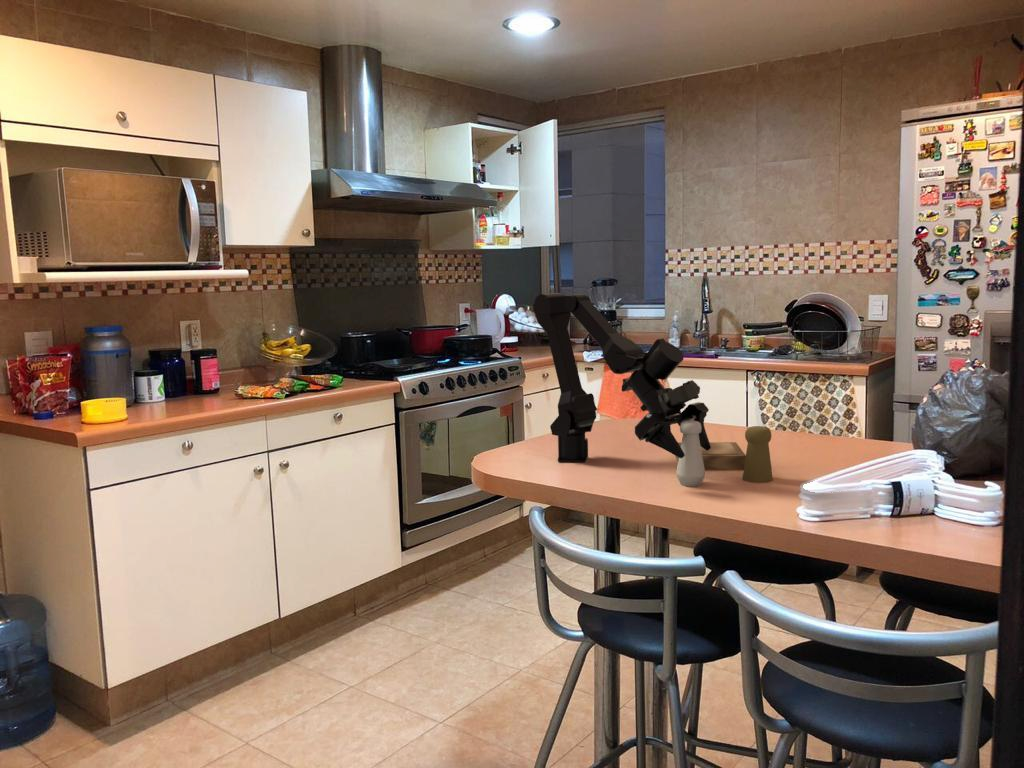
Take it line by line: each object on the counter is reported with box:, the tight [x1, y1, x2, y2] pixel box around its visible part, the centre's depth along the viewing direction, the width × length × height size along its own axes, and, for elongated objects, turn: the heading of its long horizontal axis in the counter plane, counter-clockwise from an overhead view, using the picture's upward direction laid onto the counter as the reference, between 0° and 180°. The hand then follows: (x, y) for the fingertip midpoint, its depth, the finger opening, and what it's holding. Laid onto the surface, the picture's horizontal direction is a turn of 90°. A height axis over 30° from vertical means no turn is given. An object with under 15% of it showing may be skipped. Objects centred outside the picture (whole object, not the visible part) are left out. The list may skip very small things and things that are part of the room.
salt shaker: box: [675, 420, 706, 488], centre depth 165 cm, size 6×6×13 cm
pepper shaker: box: [742, 425, 774, 484], centre depth 167 cm, size 6×6×11 cm
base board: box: [674, 441, 746, 471], centre depth 184 cm, size 14×14×3 cm
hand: (696, 453), depth 164 cm, fingers open, 9 cm apart
